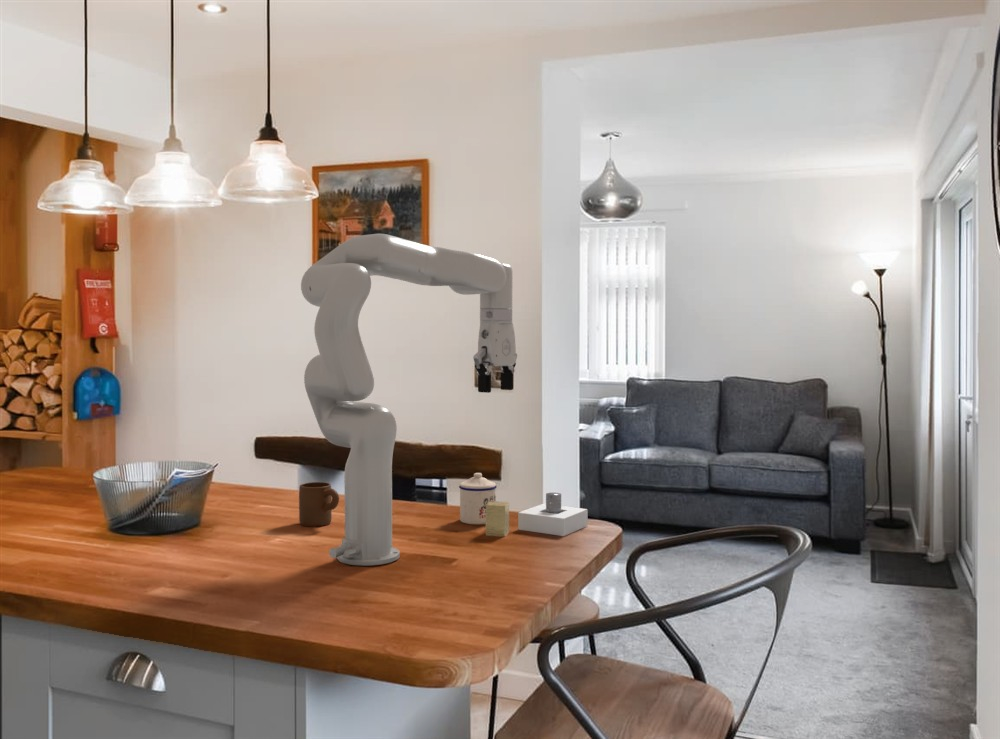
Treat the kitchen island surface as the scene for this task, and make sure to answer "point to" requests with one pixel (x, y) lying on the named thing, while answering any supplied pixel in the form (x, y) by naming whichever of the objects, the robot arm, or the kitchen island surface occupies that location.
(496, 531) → the square bit
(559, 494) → the round bit
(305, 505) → the mug
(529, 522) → the block
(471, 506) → the teacup with lid
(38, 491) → the kitchen island surface
